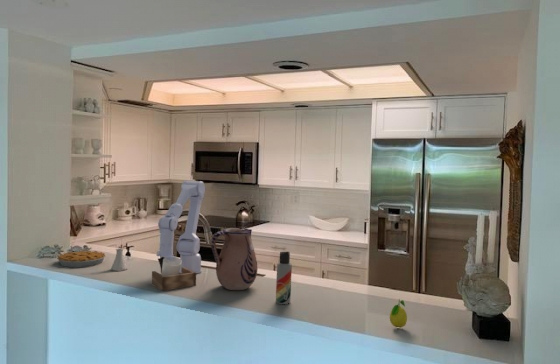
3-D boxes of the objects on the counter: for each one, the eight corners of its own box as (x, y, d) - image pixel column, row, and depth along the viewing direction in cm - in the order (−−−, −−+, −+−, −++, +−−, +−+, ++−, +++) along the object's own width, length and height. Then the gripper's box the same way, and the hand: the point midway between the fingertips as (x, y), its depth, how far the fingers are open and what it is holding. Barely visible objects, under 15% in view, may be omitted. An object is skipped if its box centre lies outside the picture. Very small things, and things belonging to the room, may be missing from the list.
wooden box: (183, 279, 195) (184, 267, 194) (195, 285, 186) (196, 272, 186) (151, 284, 185) (152, 271, 185) (162, 290, 176) (163, 277, 176)
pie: (114, 261, 225) (114, 252, 225) (80, 270, 205) (80, 259, 205) (82, 256, 233) (83, 247, 233) (47, 264, 213) (47, 254, 213)
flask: (130, 269, 209) (130, 248, 209) (117, 272, 203) (118, 251, 203) (120, 267, 213) (121, 247, 213) (107, 269, 207) (108, 249, 207)
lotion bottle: (279, 305, 163) (281, 253, 162) (273, 301, 168) (275, 250, 167) (293, 303, 166) (294, 252, 165) (286, 299, 171) (287, 249, 170)
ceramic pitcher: (265, 288, 185) (267, 230, 184) (227, 298, 169) (229, 235, 168) (238, 280, 197) (240, 225, 196) (200, 288, 181) (202, 229, 180)
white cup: (169, 288, 184) (172, 267, 181) (155, 280, 187) (159, 259, 184) (181, 281, 191) (185, 261, 188) (168, 274, 194) (172, 254, 191)
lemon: (403, 325, 147) (405, 296, 147) (411, 331, 141) (412, 301, 141) (385, 325, 146) (386, 296, 146) (391, 332, 140) (392, 301, 140)
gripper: (151, 241, 193) (149, 271, 193) (164, 247, 182) (162, 279, 182) (166, 241, 198) (164, 270, 198) (180, 246, 186) (177, 277, 186)
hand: (164, 274), depth 190 cm, fingers closed, pressing on white cup
